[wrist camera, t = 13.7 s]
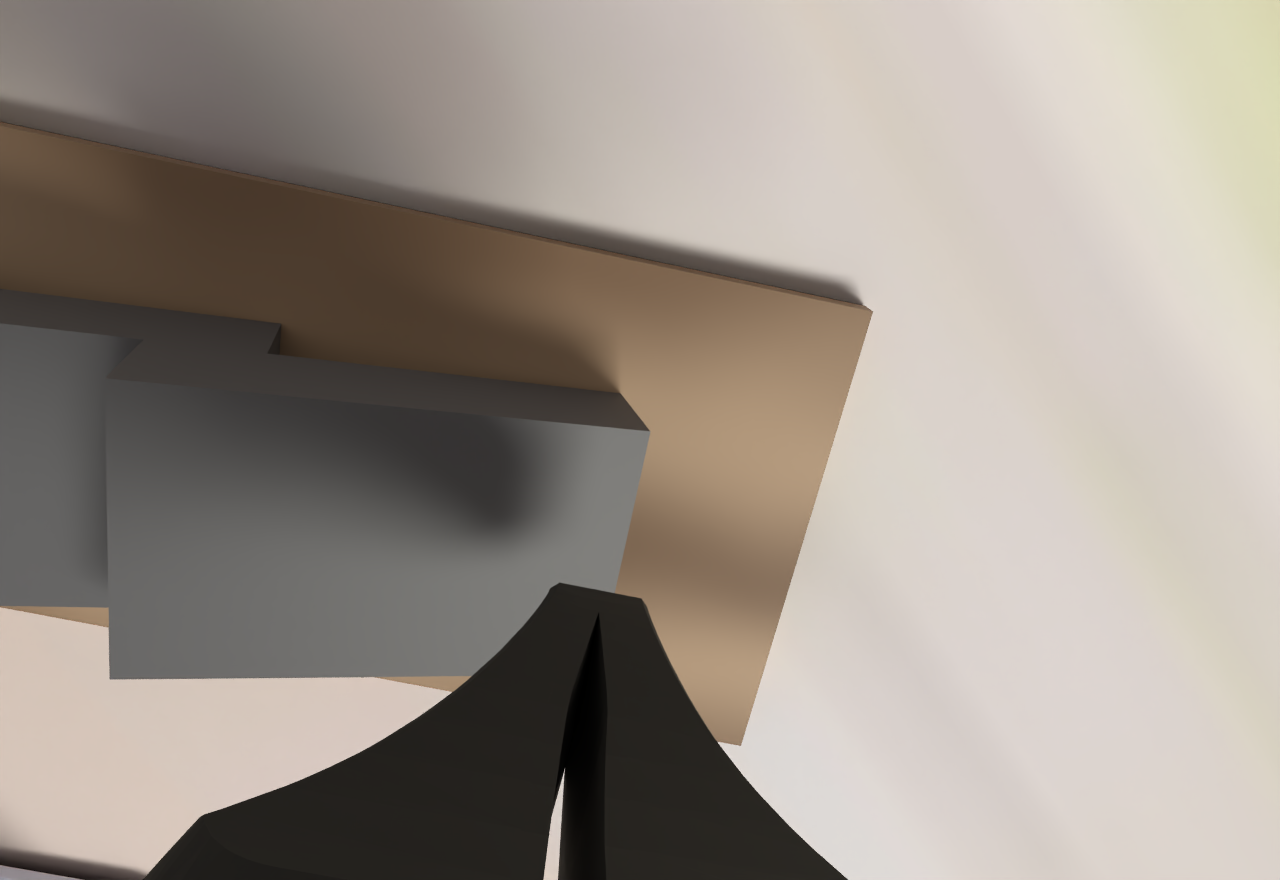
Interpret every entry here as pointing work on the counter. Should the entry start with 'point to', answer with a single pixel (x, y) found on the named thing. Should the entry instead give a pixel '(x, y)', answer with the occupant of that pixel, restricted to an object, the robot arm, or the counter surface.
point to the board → (490, 356)
